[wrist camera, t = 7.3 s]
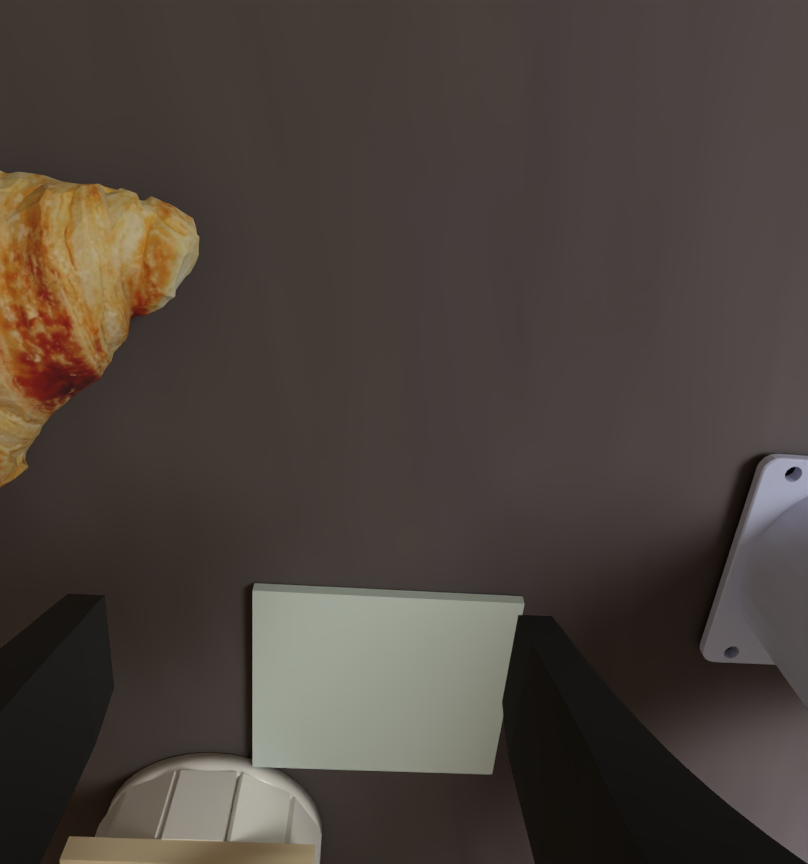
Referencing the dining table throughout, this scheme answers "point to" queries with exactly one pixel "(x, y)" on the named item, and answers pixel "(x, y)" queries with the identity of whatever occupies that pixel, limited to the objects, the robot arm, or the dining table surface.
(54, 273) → the croissant
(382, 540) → the dining table surface
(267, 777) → the bowl
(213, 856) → the lid
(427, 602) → the plate
